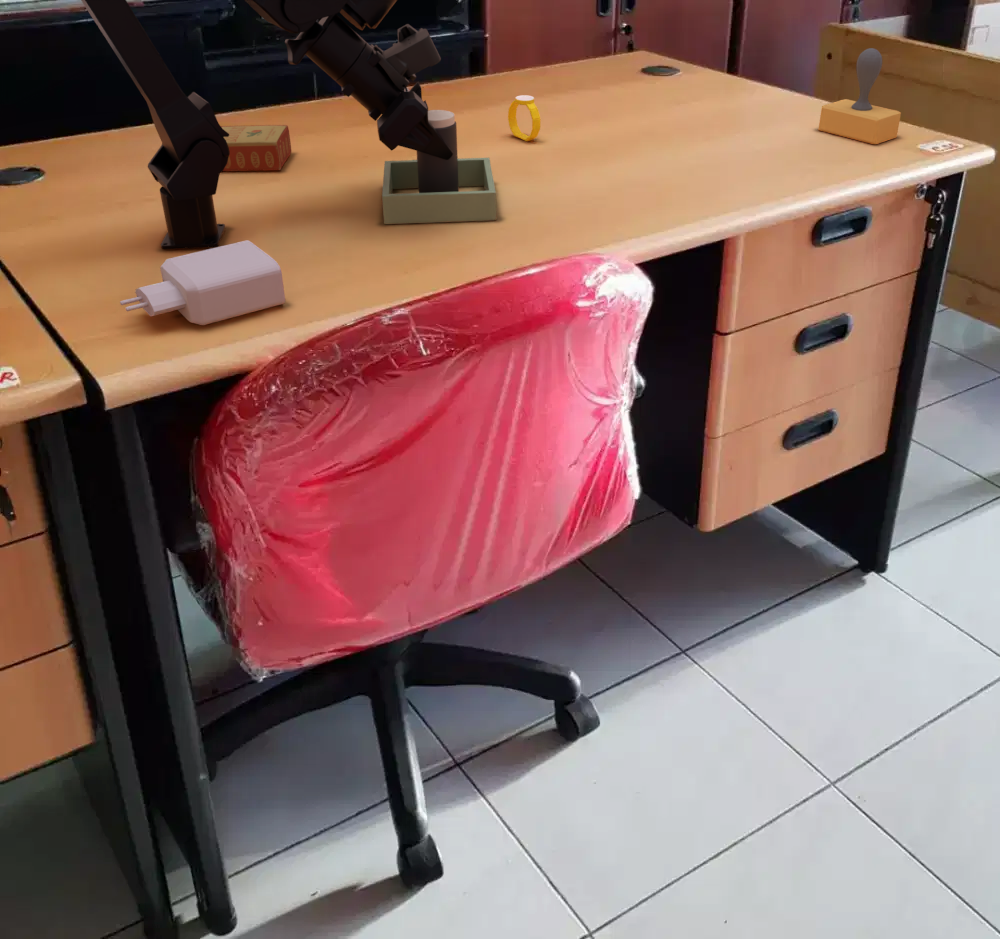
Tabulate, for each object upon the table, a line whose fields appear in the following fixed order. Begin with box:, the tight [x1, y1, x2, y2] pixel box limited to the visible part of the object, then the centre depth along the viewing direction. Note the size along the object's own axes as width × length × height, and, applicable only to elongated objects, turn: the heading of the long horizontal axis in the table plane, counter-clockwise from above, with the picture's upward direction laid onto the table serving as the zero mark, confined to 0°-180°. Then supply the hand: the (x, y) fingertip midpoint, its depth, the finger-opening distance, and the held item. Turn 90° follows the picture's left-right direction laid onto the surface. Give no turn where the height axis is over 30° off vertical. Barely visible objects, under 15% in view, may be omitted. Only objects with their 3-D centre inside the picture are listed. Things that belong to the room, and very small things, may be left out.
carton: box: [220, 124, 292, 172], centre depth 149 cm, size 8×16×4 cm, turn 89°
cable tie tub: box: [416, 109, 460, 193], centre depth 133 cm, size 5×5×11 cm
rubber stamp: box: [817, 47, 902, 145], centre depth 155 cm, size 10×6×12 cm, turn 40°
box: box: [381, 157, 497, 225], centre depth 135 cm, size 14×14×4 cm
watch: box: [507, 94, 542, 142], centre depth 157 cm, size 6×3×6 cm, turn 38°
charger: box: [119, 239, 286, 326], centre depth 109 cm, size 5×9×15 cm
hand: (448, 150), depth 132 cm, fingers closed on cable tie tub, 5 cm apart
